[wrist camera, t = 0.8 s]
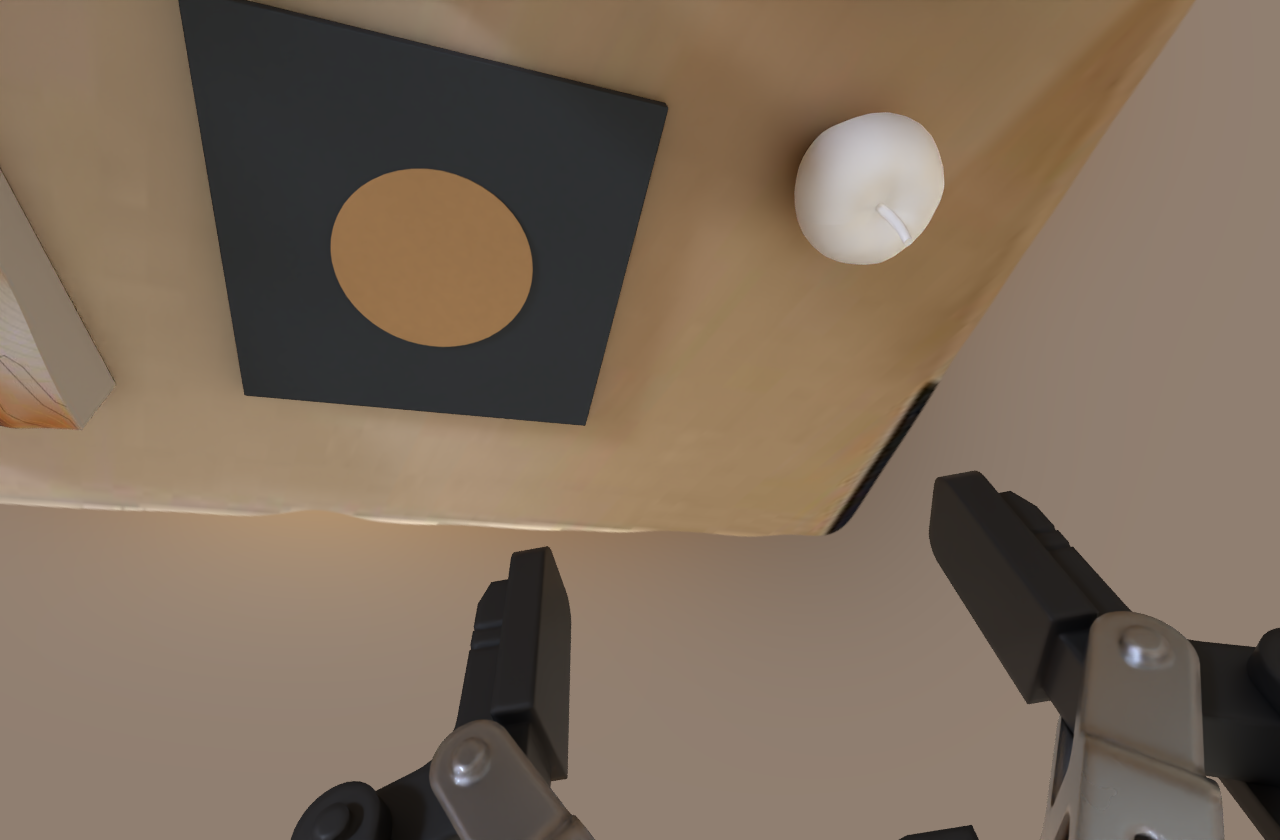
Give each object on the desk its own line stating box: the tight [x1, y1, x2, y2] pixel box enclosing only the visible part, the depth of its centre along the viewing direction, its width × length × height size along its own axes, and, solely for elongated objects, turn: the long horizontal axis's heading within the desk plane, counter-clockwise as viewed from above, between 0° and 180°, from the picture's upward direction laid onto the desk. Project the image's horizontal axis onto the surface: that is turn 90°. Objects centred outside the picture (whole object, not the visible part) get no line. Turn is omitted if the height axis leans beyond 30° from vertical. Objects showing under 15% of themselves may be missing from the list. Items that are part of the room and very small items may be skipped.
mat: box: [178, 0, 668, 426], centre depth 33 cm, size 20×20×1 cm
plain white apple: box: [794, 112, 944, 265], centre depth 31 cm, size 7×7×8 cm
